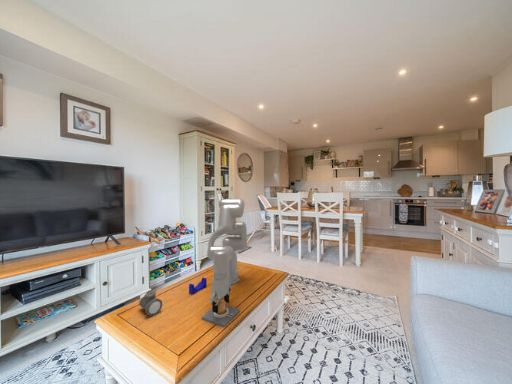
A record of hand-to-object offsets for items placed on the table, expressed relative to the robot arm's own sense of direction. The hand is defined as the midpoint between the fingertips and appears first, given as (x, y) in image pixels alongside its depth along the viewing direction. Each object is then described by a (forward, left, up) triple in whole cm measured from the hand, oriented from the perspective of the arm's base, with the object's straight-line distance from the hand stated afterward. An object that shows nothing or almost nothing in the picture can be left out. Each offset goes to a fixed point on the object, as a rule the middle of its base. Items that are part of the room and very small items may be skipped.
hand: (221, 307), depth 104 cm
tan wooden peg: (0, 0, -3) cm, 3 cm away
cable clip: (-15, -30, -5) cm, 34 cm away
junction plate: (0, 0, -4) cm, 4 cm away
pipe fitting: (+14, -37, -5) cm, 39 cm away
